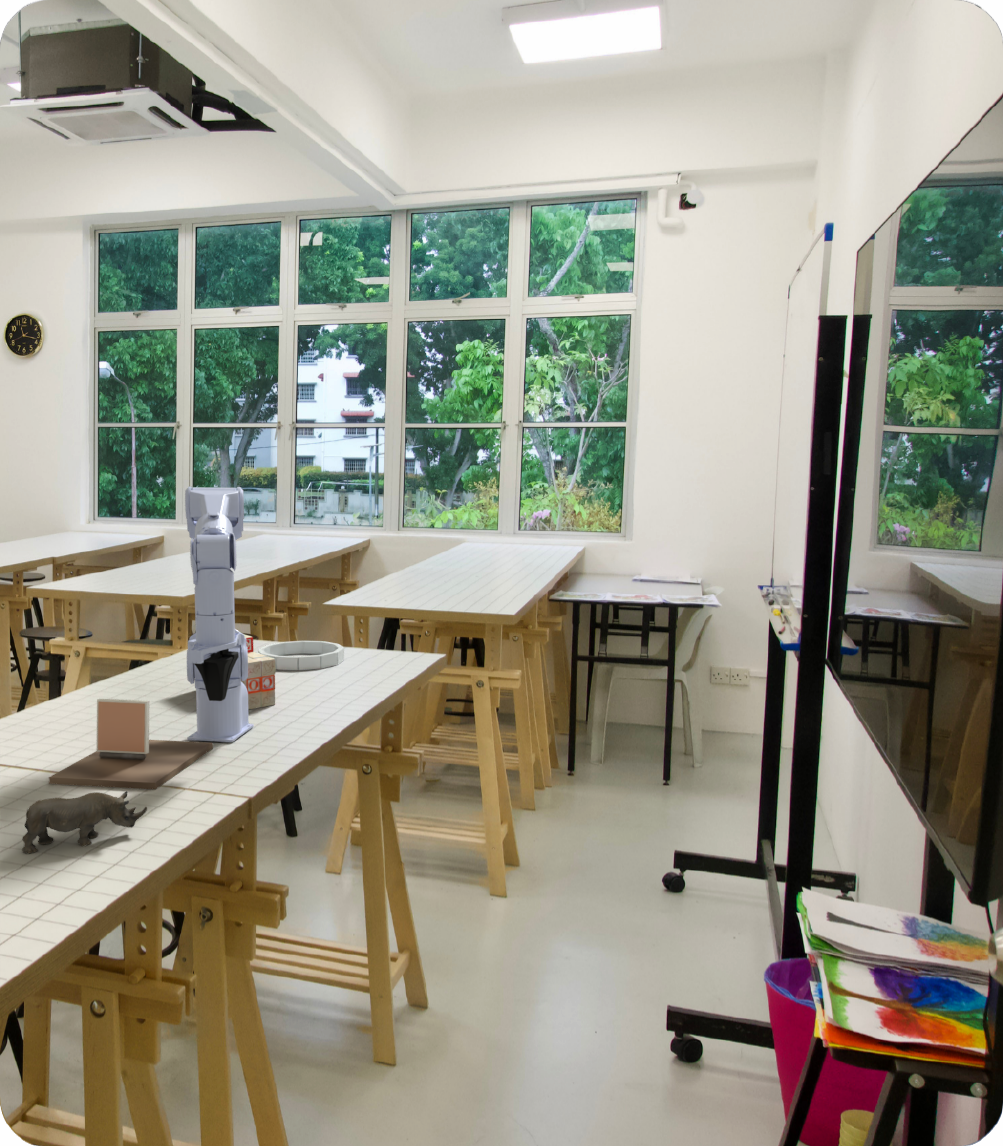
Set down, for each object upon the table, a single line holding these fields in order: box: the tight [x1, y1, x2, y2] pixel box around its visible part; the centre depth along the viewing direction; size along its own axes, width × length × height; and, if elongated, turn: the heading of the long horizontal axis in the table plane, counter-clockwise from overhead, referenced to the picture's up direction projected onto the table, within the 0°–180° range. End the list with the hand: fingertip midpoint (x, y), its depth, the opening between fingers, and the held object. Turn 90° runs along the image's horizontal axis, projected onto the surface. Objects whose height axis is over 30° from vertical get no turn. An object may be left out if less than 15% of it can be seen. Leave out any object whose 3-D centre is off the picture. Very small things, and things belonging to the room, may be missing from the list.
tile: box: [95, 698, 150, 754], centre depth 130 cm, size 8×8×1 cm
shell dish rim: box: [257, 640, 345, 671], centre depth 204 cm, size 20×20×3 cm
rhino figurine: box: [21, 790, 148, 854], centre depth 103 cm, size 4×14×6 cm, turn 115°
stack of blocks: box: [241, 633, 276, 711], centre depth 171 cm, size 21×6×12 cm, turn 43°
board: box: [48, 739, 214, 791], centre depth 130 cm, size 18×16×2 cm
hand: (217, 699), depth 131 cm, fingers closed
